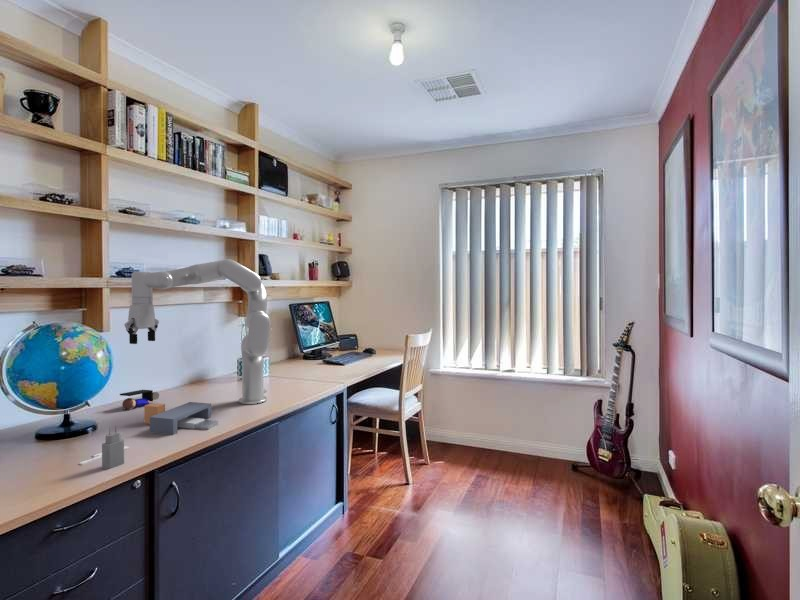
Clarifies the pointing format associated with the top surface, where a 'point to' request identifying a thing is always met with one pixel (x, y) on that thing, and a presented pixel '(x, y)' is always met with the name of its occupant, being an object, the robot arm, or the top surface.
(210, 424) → the steel token
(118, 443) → the power adapter
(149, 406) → the scraper tool
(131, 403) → the figurine character
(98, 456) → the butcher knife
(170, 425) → the riser shelf
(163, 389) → the top surface
